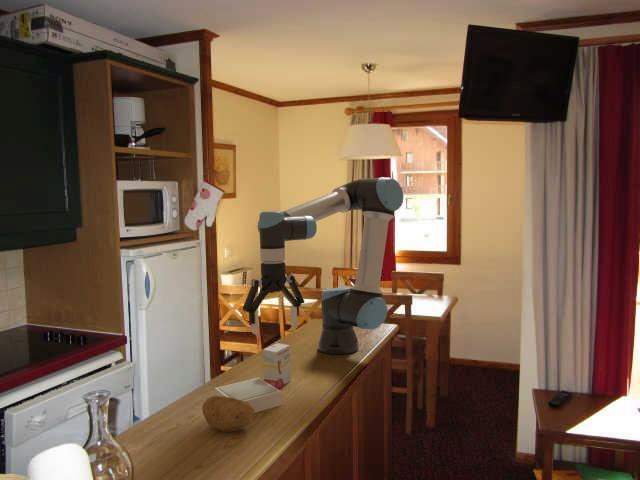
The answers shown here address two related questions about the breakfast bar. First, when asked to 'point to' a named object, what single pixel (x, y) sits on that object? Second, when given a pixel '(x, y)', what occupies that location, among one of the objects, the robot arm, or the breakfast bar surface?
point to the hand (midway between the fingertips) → (275, 330)
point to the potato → (227, 413)
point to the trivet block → (252, 393)
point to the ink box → (277, 365)
